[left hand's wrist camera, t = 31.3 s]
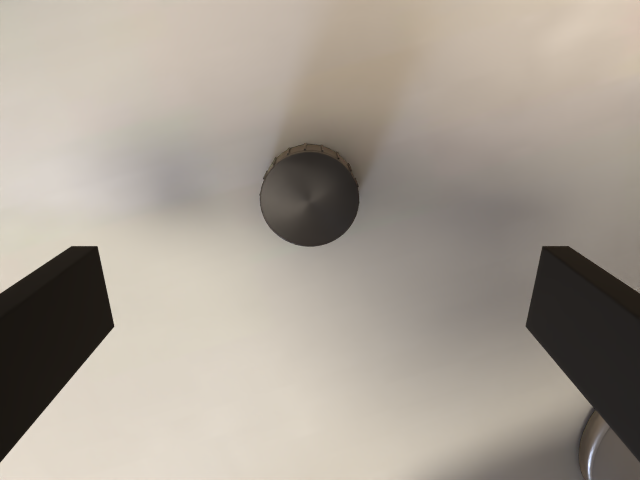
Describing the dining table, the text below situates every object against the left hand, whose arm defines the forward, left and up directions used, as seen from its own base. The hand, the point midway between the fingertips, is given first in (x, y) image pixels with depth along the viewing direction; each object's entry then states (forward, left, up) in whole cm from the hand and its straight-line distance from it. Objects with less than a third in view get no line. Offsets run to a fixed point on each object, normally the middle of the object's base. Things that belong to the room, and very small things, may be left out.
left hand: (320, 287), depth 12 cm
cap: (0, -1, -7) cm, 7 cm away
